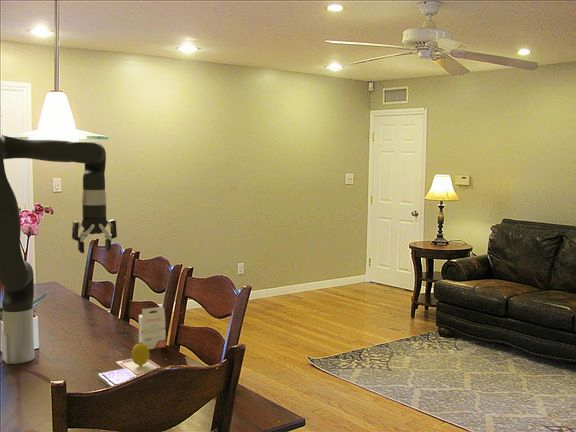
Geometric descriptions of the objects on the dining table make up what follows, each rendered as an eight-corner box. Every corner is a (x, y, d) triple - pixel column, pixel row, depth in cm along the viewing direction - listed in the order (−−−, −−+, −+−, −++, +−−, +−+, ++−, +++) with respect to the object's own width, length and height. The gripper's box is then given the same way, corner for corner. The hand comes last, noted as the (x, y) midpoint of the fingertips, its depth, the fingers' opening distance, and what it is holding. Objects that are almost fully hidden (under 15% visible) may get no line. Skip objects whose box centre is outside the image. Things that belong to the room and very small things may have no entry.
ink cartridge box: (162, 343, 229) (161, 303, 227) (166, 347, 224) (165, 306, 223) (138, 346, 225) (138, 306, 223) (142, 350, 221) (141, 309, 219)
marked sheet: (137, 378, 193) (137, 377, 193) (115, 362, 207) (115, 361, 207) (167, 372, 199) (167, 371, 199) (144, 357, 213) (144, 356, 213)
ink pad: (114, 390, 183) (113, 385, 183) (98, 377, 193) (98, 372, 193) (143, 384, 188) (143, 379, 188) (126, 372, 199) (126, 367, 199)
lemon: (140, 370, 199) (140, 346, 199) (128, 367, 202) (127, 343, 201) (153, 365, 204) (152, 341, 203) (140, 362, 207) (140, 338, 206)
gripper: (76, 204, 201) (77, 255, 202) (119, 203, 209) (119, 251, 210) (68, 203, 207) (69, 252, 208) (111, 201, 215) (111, 248, 217)
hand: (95, 251), depth 209 cm, fingers open, 8 cm apart
